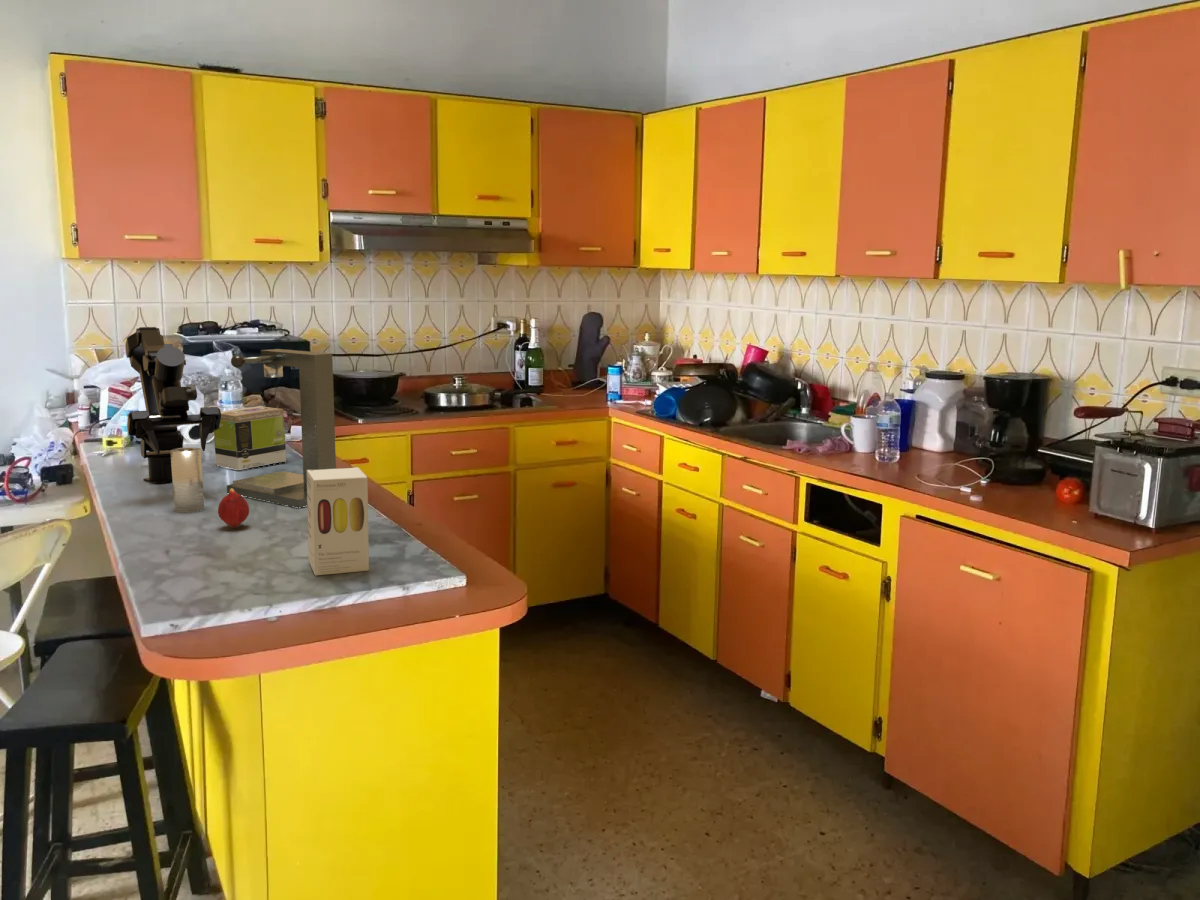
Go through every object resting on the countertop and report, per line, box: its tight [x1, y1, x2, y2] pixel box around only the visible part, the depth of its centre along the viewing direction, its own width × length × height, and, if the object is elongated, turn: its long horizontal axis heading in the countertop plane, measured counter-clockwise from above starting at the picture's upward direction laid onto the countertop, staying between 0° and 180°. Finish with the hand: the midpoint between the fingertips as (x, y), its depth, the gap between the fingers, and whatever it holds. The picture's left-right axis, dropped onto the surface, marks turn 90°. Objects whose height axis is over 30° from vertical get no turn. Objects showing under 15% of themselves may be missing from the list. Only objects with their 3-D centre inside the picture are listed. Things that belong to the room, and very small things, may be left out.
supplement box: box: [306, 466, 370, 576], centre depth 171 cm, size 10×9×17 cm
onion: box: [217, 489, 250, 529], centre depth 196 cm, size 6×6×8 cm
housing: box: [170, 446, 206, 514], centre depth 209 cm, size 6×6×13 cm
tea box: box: [213, 405, 287, 470], centre depth 257 cm, size 15×10×15 cm, turn 144°
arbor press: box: [226, 348, 337, 508], centre depth 220 cm, size 24×22×33 cm
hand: (181, 451), depth 212 cm, fingers open, 9 cm apart
